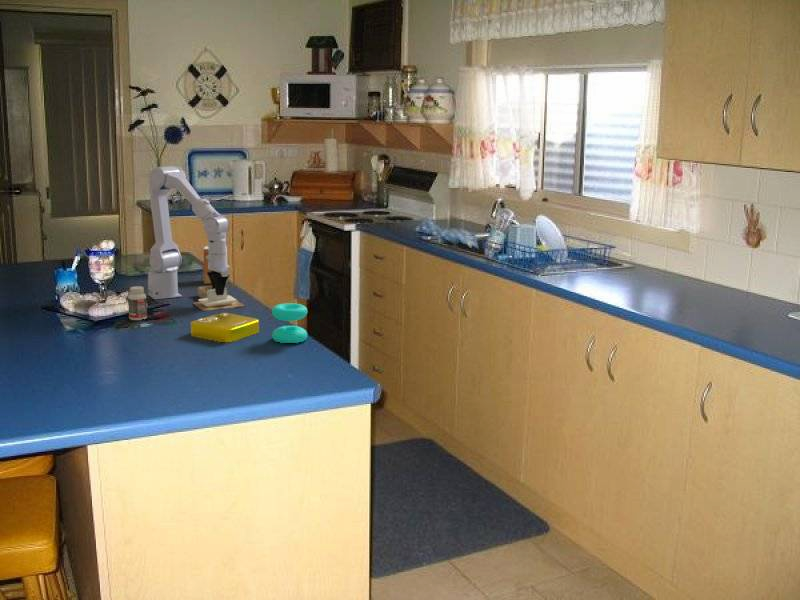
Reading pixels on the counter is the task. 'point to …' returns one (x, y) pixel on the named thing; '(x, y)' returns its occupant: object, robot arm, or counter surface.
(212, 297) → the lid
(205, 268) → the small box
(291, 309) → the donuts
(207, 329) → the element tile
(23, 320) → the counter surface
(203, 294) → the box
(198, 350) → the counter surface
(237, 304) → the mat
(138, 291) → the pill bottle
